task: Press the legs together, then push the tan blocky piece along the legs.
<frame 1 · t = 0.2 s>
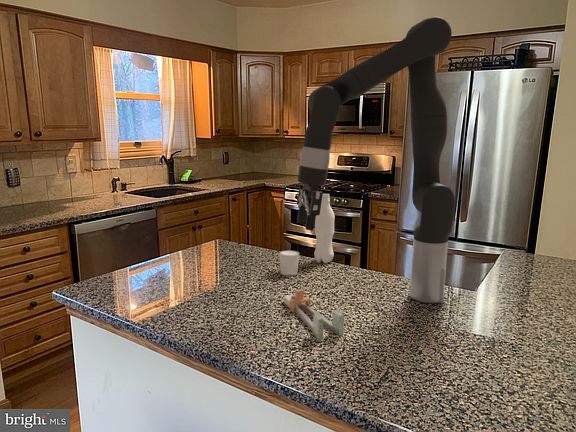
hand: (304, 226, 114), 22 cm above the counter, tool pointing down, fingers open, 8 cm apart
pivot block: (295, 305, 117), on the counter
tan blocky piece: (300, 300, 114), point 3 cm above the counter, slide at 0.0 cm
water bottle: (323, 261, 157), on the counter
leg 1: (305, 313, 106), point 2 cm above the counter, hinge at -4.0°
leg 2: (320, 310, 108), point 2 cm above the counter, hinge at 4.0°
shot glass: (289, 273, 145), on the counter
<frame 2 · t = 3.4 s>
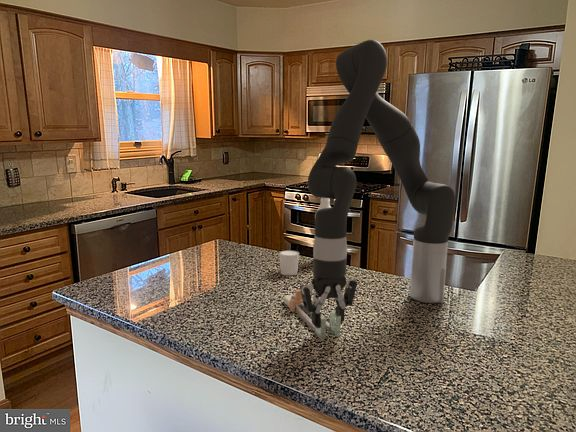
hand: (327, 324, 100), 3 cm above the counter, tool pointing down, fingers open, 5 cm apart
leg 1: (307, 312, 106), point 2 cm above the counter, hinge at -2.1°, touching gripper
leg 2: (318, 310, 108), point 2 cm above the counter, hinge at 1.5°, touching gripper
everything else where it was.
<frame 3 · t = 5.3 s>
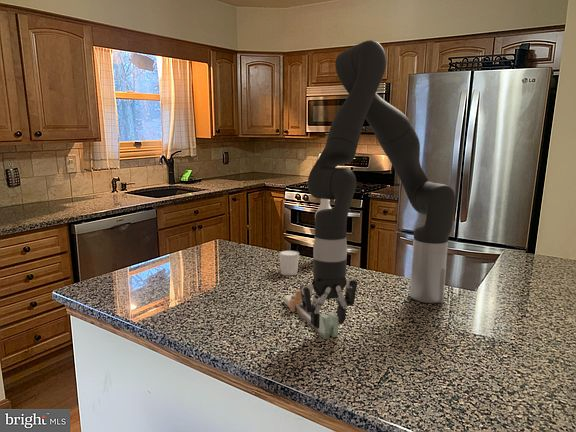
hand: (328, 324, 100), 3 cm above the counter, tool pointing down, fingers open, 6 cm apart
leg 1: (309, 312, 106), point 2 cm above the counter, hinge at 0.5°
leg 2: (317, 311, 107), point 2 cm above the counter, hinge at -0.5°
everything else where it was.
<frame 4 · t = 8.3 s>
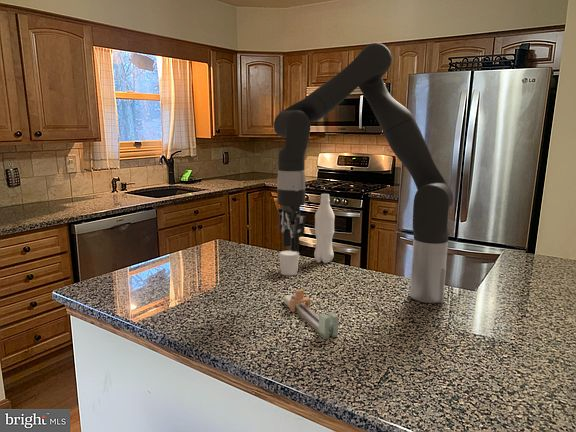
hand: (290, 248, 117), 15 cm above the counter, tool pointing down, fingers open, 5 cm apart
nothing on the counter moved.
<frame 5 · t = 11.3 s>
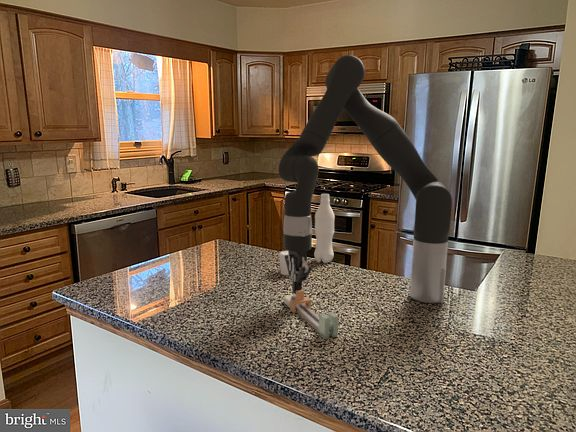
hand: (297, 293, 116), 4 cm above the counter, tool pointing down, fingers closed
tan blocky piece: (300, 300, 114), point 3 cm above the counter, slide at 0.4 cm, touching gripper
everything else where it was.
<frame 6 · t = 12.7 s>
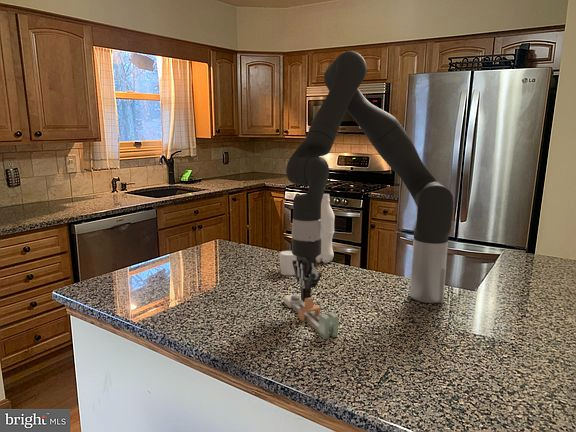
hand: (305, 300, 111), 4 cm above the counter, tool pointing down, fingers closed
tan blocky piece: (309, 308, 109), point 3 cm above the counter, slide at 6.0 cm, touching gripper
everything else where it was.
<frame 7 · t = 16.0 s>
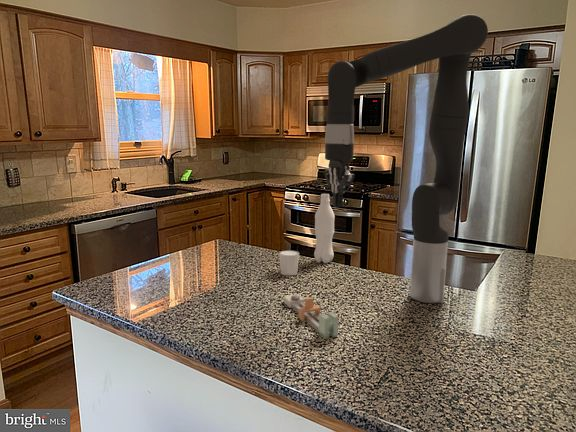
hand: (337, 206, 116), 27 cm above the counter, tool pointing down, fingers closed
tan blocky piece: (309, 308, 109), point 3 cm above the counter, slide at 6.0 cm
everything else where it was.
at the end: leg 2 at +0° (first picture: +4°); leg 1 at +0° (first picture: -4°); tan blocky piece slide at 6.0 cm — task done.
